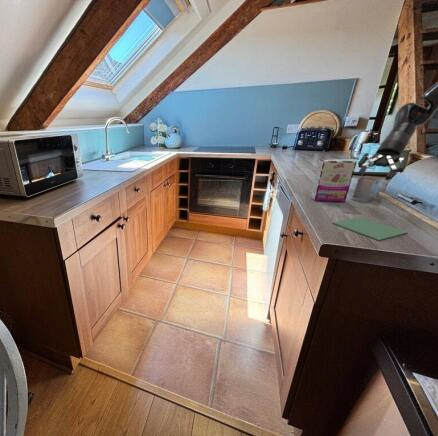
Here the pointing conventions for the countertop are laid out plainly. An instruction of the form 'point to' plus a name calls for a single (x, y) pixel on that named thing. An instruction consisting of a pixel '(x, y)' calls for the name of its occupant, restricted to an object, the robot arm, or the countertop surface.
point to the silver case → (366, 188)
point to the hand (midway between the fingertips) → (373, 176)
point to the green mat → (370, 228)
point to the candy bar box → (333, 180)
